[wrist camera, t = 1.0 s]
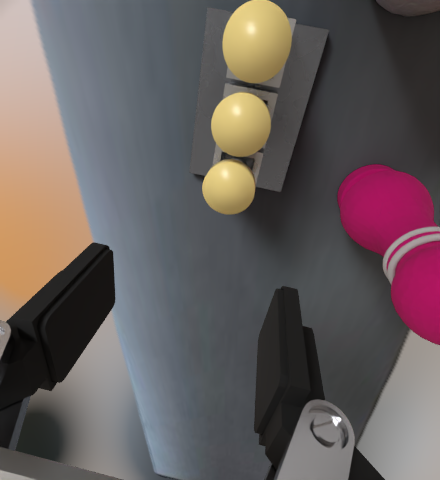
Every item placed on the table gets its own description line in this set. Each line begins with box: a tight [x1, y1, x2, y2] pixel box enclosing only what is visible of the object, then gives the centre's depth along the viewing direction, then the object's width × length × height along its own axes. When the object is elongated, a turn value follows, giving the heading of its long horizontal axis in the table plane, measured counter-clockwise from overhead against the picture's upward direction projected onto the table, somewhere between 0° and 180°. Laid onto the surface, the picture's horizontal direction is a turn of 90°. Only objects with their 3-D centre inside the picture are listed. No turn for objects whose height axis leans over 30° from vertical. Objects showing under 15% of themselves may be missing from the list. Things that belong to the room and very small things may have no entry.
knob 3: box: [202, 157, 256, 214], centre depth 23 cm, size 4×4×6 cm
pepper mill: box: [337, 164, 440, 345], centre depth 21 cm, size 7×7×20 cm
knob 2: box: [211, 92, 271, 157], centre depth 21 cm, size 4×4×6 cm
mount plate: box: [189, 7, 329, 192], centre depth 25 cm, size 14×10×5 cm
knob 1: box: [223, 0, 292, 83], centre depth 19 cm, size 4×4×6 cm
